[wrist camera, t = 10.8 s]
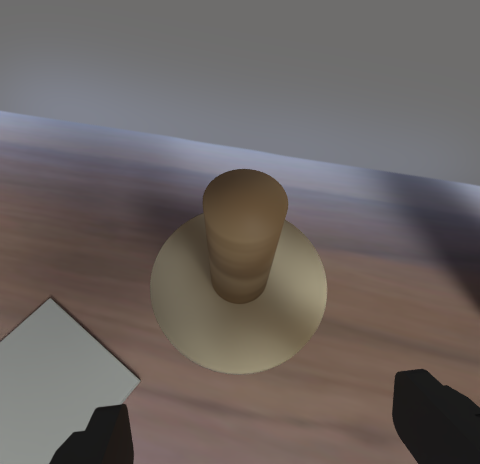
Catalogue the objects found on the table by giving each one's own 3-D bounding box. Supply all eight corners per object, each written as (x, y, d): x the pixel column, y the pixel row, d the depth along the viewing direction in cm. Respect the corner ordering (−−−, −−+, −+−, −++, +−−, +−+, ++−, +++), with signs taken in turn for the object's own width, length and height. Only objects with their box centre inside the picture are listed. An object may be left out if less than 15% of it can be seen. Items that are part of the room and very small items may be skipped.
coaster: (52, 299, 29) (49, 298, 29) (140, 380, 26) (139, 380, 25) (-81, 417, 24) (-85, 417, 23) (9, 541, 20) (5, 543, 20)
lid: (224, 190, 22) (222, 89, 15) (351, 267, 19) (419, 182, 12) (115, 298, 17) (45, 220, 10) (261, 421, 14) (291, 420, 8)
